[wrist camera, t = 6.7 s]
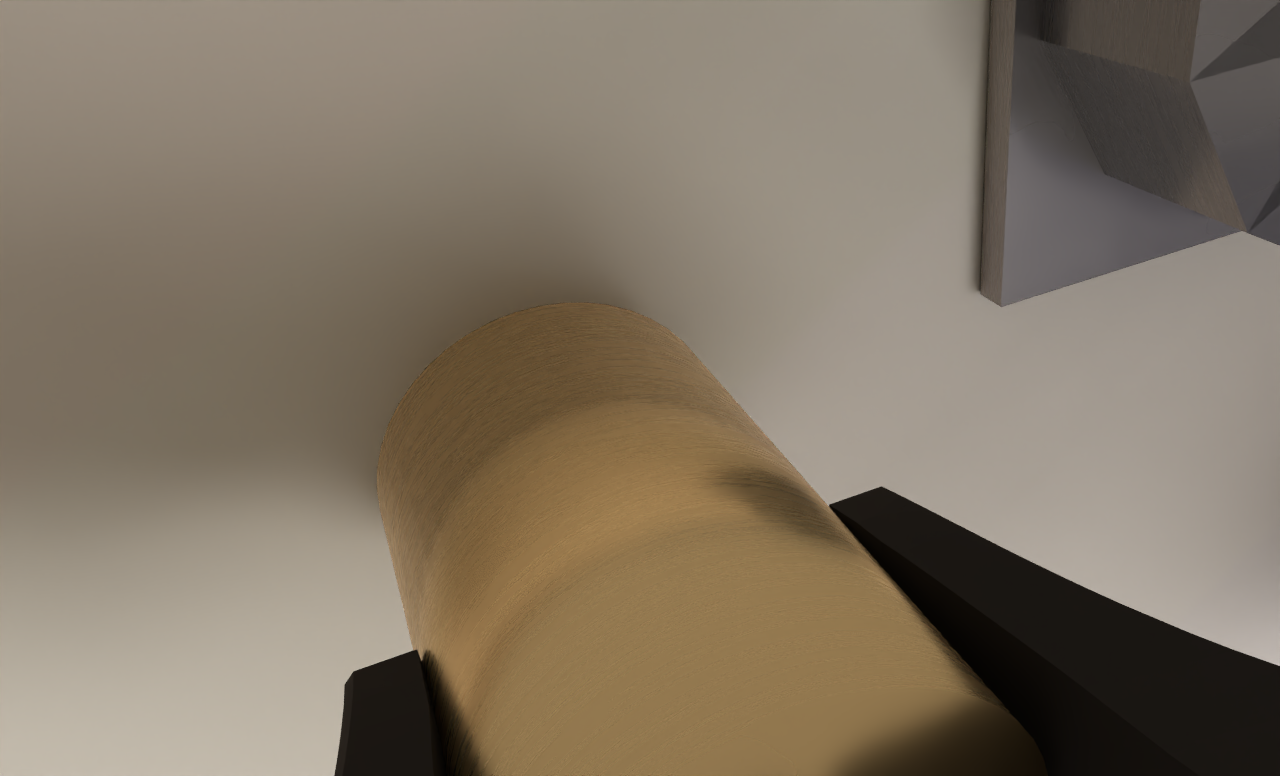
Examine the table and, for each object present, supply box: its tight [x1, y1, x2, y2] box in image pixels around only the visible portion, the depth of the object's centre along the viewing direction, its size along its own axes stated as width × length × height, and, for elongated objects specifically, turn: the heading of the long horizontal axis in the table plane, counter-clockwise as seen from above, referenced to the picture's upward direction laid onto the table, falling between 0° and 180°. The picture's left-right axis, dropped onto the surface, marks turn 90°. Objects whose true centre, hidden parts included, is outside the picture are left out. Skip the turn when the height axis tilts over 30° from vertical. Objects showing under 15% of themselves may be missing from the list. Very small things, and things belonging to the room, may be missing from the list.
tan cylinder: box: [377, 303, 1048, 776], centre depth 10 cm, size 4×4×7 cm
